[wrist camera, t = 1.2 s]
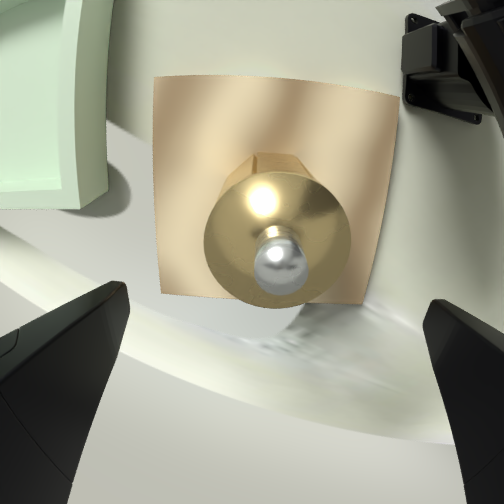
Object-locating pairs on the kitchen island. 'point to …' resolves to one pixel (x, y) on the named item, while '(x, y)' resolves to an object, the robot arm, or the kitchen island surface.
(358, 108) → the stud plate
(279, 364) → the kitchen island surface
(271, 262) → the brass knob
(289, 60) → the kitchen island surface
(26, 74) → the bin
